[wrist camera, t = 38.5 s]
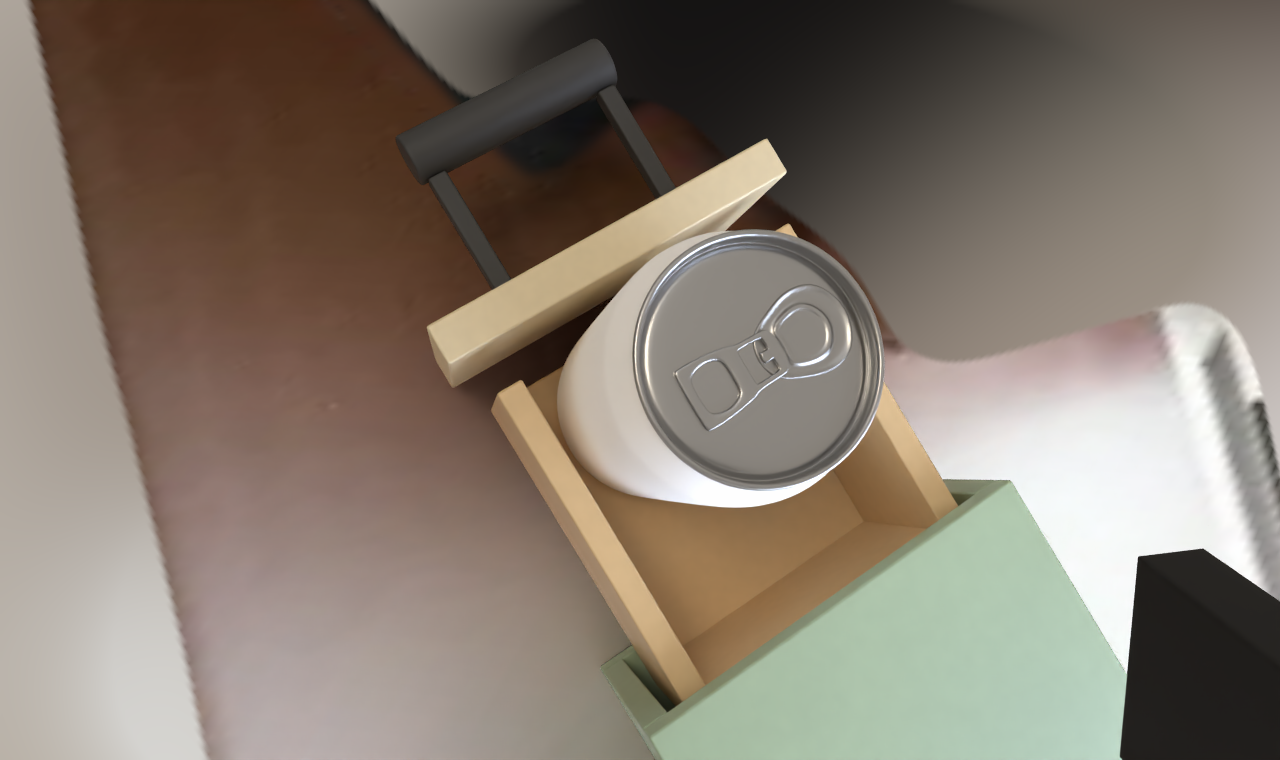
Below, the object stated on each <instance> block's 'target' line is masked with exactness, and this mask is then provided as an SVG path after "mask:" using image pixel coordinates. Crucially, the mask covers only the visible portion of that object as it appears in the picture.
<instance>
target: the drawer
mask: <svg viewBox="0 0 1280 760" xmlns="http://www.w3.org/2000/svg"><path fill="white" fill-rule="evenodd" d="M616 84H617V73H616V69H615V66H614V63H613V61H612V58H611V56H610V54H609V53H608V51H607V50H606V48H605V47H604V45H603V44H602V43H601V42H600V41H599V40H597V39H591V40H589V41H587V42H585V43H583V44H581V45H579V46H577V47H575V48H573V49H571V50H569V51H567V52H565V53H563V54H561V55H559V56H557V57H555V58H553V59H551V60H549V61H547V62H545V63H543V64H540V65H538V66H536V67H534V68H532V69H530V70H528V71H526V72H525V73H522V74H521V75H518V76H516V77H514V78H512V79H510V80H508V81H506V82H504V83H502V84H500V85H498V86H496V87H494V88H492V89H490V90H488V91H486V92H484V93H482V94H480V95H478V96H476V97H474V98H472V99H470V100H468V101H466V102H464V103H462V104H460V105H458V106H456V107H454V108H452V109H450V110H448V111H446V112H444V113H442V114H440V115H438V116H436V117H434V118H432V119H430V120H428V121H426V122H424V123H422V124H420V125H417V126H415V127H413V128H411V129H409V130H407V131H405V132H403V133H401V134H399V135H397V136H396V143H397V146H398V148H399V150H400V153H401V155H402V157H403V159H404V160H405V162H406V164H407V166H408V168H409V169H410V171H411V173H412V174H413V176H414V177H415V179H416V180H417V181H418V182H419V183H420V184H421V185H425V184H427V183H429V186H430V188H431V189H432V191H433V193H434V194H435V196H436V198H437V199H438V201H439V203H440V204H441V206H442V208H443V209H444V211H445V213H446V214H447V216H448V218H449V219H450V221H451V222H452V224H453V226H454V227H455V229H456V231H457V232H458V234H459V236H460V237H461V239H462V241H463V242H464V244H465V246H466V247H467V249H468V251H469V252H470V254H471V256H472V257H473V259H474V261H475V262H476V264H477V266H478V267H479V269H480V271H481V272H482V274H483V276H484V277H485V279H486V281H487V282H488V284H489V286H490V287H491V289H492V290H491V291H489V292H488V293H486V294H484V295H482V296H480V297H479V298H477V299H475V300H473V301H471V302H470V303H468V304H466V305H464V306H462V307H461V308H459V309H457V310H455V311H453V312H452V313H450V314H448V315H446V316H444V317H442V318H441V319H439V320H437V321H435V322H433V323H432V324H430V325H428V326H427V330H428V334H429V338H430V341H431V345H432V349H433V352H434V356H435V360H436V362H437V363H438V365H439V367H440V368H441V370H442V372H443V373H444V375H445V377H446V378H447V380H448V382H449V383H450V385H451V387H456V386H458V385H459V384H461V383H463V382H465V381H466V380H468V379H470V378H472V377H473V376H475V375H477V374H479V373H480V372H482V371H484V370H486V369H487V368H489V367H491V366H493V365H494V364H496V363H498V362H499V361H501V360H503V359H505V358H506V357H508V356H510V355H512V354H513V353H515V352H517V351H519V350H520V349H522V348H524V347H526V346H527V345H529V344H531V343H533V342H534V341H536V340H538V339H539V338H541V337H543V336H545V335H546V334H548V333H550V332H552V331H553V330H555V329H557V328H559V327H560V326H562V325H564V324H566V323H567V322H569V321H571V320H573V319H574V318H576V317H578V316H579V315H581V314H583V313H585V312H586V311H588V310H590V309H592V308H593V307H595V306H597V305H599V304H600V303H602V302H604V301H606V300H607V299H609V298H611V297H613V296H614V295H616V294H617V293H618V292H619V291H620V290H621V289H622V288H623V286H624V285H625V284H626V283H627V282H628V281H629V280H630V279H631V278H632V276H633V275H634V274H635V273H636V272H637V271H639V270H640V269H641V268H642V267H643V266H644V265H645V264H646V263H647V262H649V261H650V260H651V259H652V258H654V257H655V256H656V255H658V254H659V253H661V252H662V251H664V250H666V249H668V248H669V247H671V246H673V245H675V244H677V243H679V242H681V241H684V240H686V239H689V238H692V237H695V236H698V235H702V234H707V233H712V232H720V231H725V230H726V229H727V228H728V227H729V226H731V225H732V224H733V223H734V222H735V221H736V220H737V219H738V218H739V217H740V216H741V215H742V214H743V213H744V212H745V211H747V210H748V209H749V208H750V207H751V206H752V205H753V204H754V203H755V202H756V201H757V200H758V199H759V198H760V197H761V196H762V195H764V194H765V193H766V192H767V191H768V190H769V189H770V188H771V187H772V186H773V185H774V184H775V183H776V182H777V181H778V180H779V179H781V178H782V177H783V176H784V175H785V174H786V169H785V168H784V166H783V164H782V163H781V161H780V159H779V158H778V156H777V155H776V153H775V151H774V149H773V148H772V146H771V144H770V143H769V141H768V140H767V139H764V140H762V141H761V142H759V143H757V144H755V145H753V146H751V147H750V148H748V149H746V150H744V151H743V152H741V153H739V154H737V155H735V156H734V157H732V158H730V159H728V160H726V161H724V162H723V163H721V164H719V165H717V166H715V167H714V168H712V169H710V170H708V171H706V172H705V173H703V174H701V175H699V176H697V177H695V178H694V179H692V180H690V181H688V182H686V183H685V184H683V185H681V186H679V187H677V188H676V187H675V186H674V184H673V182H672V181H671V179H670V177H669V176H668V174H667V172H666V171H665V169H664V167H663V166H662V164H661V162H660V161H659V159H658V157H657V156H656V154H655V152H654V151H653V149H652V147H651V146H650V144H649V142H648V141H647V139H646V137H645V136H644V134H643V132H642V131H641V129H640V127H639V126H638V124H637V122H636V121H635V119H634V117H633V116H632V114H631V112H630V111H629V109H628V107H627V106H626V104H625V102H624V101H623V99H622V97H621V96H620V94H619V92H618V91H617V89H616V87H615V86H616ZM596 96H597V98H596V100H597V102H598V103H599V105H600V107H601V108H602V110H603V112H604V113H605V115H606V117H607V118H608V120H609V122H610V123H611V125H612V127H613V128H614V130H615V132H616V133H617V135H618V137H619V138H620V140H621V142H622V143H623V145H624V147H625V148H626V150H627V152H628V153H629V155H630V157H631V158H632V160H633V162H634V163H635V165H636V167H637V168H638V170H639V172H640V173H641V175H642V177H643V178H644V180H645V182H646V183H647V185H648V187H649V188H650V190H651V192H652V193H653V195H654V197H655V198H656V200H654V201H652V202H650V203H648V204H647V205H645V206H643V207H641V208H639V209H638V210H636V211H634V212H632V213H630V214H629V215H627V216H625V217H623V218H621V219H620V220H618V221H616V222H614V223H612V224H611V225H609V226H607V227H605V228H603V229H602V230H600V231H598V232H596V233H594V234H592V235H591V236H589V237H587V238H585V239H583V240H582V241H580V242H578V243H576V244H574V245H573V246H571V247H569V248H567V249H565V250H564V251H562V252H560V253H558V254H556V255H555V256H553V257H551V258H549V259H547V260H545V261H544V262H542V263H540V264H538V265H536V266H535V267H533V268H531V269H529V270H527V271H526V272H524V273H522V274H520V275H518V276H517V277H515V278H513V279H511V278H510V276H509V275H508V273H507V271H506V270H505V268H504V266H503V265H502V263H501V261H500V260H499V258H498V256H497V255H496V253H495V252H494V250H493V248H492V247H491V245H490V243H489V242H488V240H487V238H486V237H485V235H484V233H483V232H482V230H481V228H480V227H479V225H478V223H477V222H476V220H475V218H474V217H473V215H472V213H471V212H470V210H469V208H468V207H467V205H466V203H465V202H464V200H463V198H462V197H461V195H460V193H459V192H458V190H457V188H456V187H455V185H454V183H453V182H452V180H451V178H450V177H449V175H448V172H450V171H452V170H454V169H456V168H458V167H460V166H462V165H464V164H466V163H468V162H470V161H472V160H473V159H475V158H477V157H479V156H481V155H483V154H485V153H487V152H489V151H491V150H493V149H495V148H497V147H499V146H501V145H503V144H505V143H507V142H509V141H510V140H512V139H514V138H516V137H518V136H520V135H522V134H524V133H526V132H528V131H530V130H532V129H534V128H536V127H538V126H540V125H542V124H544V123H546V122H547V121H549V120H551V119H553V118H555V117H557V116H559V115H561V114H563V113H565V112H567V111H569V110H571V109H573V108H575V107H577V106H579V105H581V104H583V103H584V102H586V101H588V100H590V99H592V98H594V97H596ZM776 232H781V233H785V234H789V235H792V236H795V237H797V236H796V234H795V232H794V231H793V229H792V227H791V226H790V224H786V225H785V226H783V227H781V228H780V229H778V230H776ZM797 238H798V237H797ZM563 367H564V366H562V367H561V368H559V369H557V370H555V371H554V372H552V373H550V374H549V375H547V376H545V377H544V378H542V379H540V380H538V381H537V382H535V383H533V384H532V385H530V386H528V387H526V386H525V384H524V382H523V381H522V380H519V381H517V382H516V383H514V384H512V385H511V386H509V387H507V388H505V389H504V390H502V391H500V392H499V393H498V394H497V396H496V399H495V401H494V404H493V407H492V409H491V412H492V414H493V415H494V417H495V419H496V420H497V422H498V424H499V425H500V427H501V429H502V430H503V432H504V433H505V435H506V437H507V438H508V440H509V442H510V443H511V445H512V447H513V448H514V450H515V452H516V453H517V455H518V457H519V458H520V460H521V462H522V463H523V465H524V467H525V468H526V470H527V472H528V473H529V475H530V477H531V478H532V480H533V482H534V483H535V485H536V487H537V488H538V490H539V491H540V493H541V495H542V496H543V498H544V500H545V501H546V503H547V505H548V506H549V508H550V510H551V511H552V513H553V515H554V516H555V518H556V520H557V521H558V523H559V525H560V526H561V528H562V530H563V531H564V533H565V535H566V536H567V538H568V540H569V541H570V543H571V544H572V546H573V548H574V549H575V551H576V553H577V554H578V556H579V558H580V559H581V561H582V563H583V564H584V566H585V568H586V569H587V571H588V573H589V574H590V576H591V578H592V579H593V581H594V583H595V584H596V586H597V588H598V589H599V591H600V593H601V594H602V596H603V598H604V599H605V601H606V602H607V604H608V606H609V607H610V609H611V611H612V612H613V614H614V616H615V617H616V619H617V621H618V622H619V624H620V626H621V627H622V629H623V631H624V632H625V634H626V636H627V637H628V639H629V641H630V642H631V644H632V646H633V647H634V649H635V651H636V652H637V654H638V656H639V657H640V659H641V660H642V662H643V664H644V665H645V667H646V669H647V670H648V672H649V674H650V675H651V677H652V679H653V680H654V682H655V684H656V685H657V686H658V687H659V688H660V689H661V690H662V691H663V693H664V694H665V695H666V696H667V697H668V698H669V699H670V700H671V701H672V703H673V704H674V705H675V706H677V705H679V704H680V703H682V702H683V701H684V700H686V699H687V698H689V697H690V696H691V695H693V694H694V693H696V692H697V691H699V690H700V689H701V688H703V687H704V686H706V685H707V684H708V683H710V682H711V681H713V680H714V679H715V678H717V677H718V676H720V675H721V674H723V673H724V672H725V671H727V670H728V669H730V668H731V667H732V666H734V665H735V664H737V663H738V662H739V661H741V660H742V659H744V658H745V657H747V656H748V655H749V654H751V653H752V652H754V651H755V650H756V649H758V648H759V647H761V646H762V645H763V644H765V643H766V642H768V641H769V640H770V639H772V638H773V637H775V636H776V635H778V634H779V633H780V632H782V631H783V630H785V629H786V628H787V627H789V626H790V625H792V624H793V623H794V622H796V621H797V620H799V619H800V618H802V617H803V616H804V615H806V614H807V613H809V612H810V611H811V610H813V609H814V608H816V607H817V606H818V605H820V604H821V603H823V602H824V601H825V600H827V599H828V598H830V597H831V596H833V595H834V594H835V593H837V592H838V591H840V590H841V589H842V588H844V587H845V586H847V585H848V584H849V583H851V582H852V581H854V580H855V579H857V578H858V577H859V576H861V575H862V574H864V573H865V572H866V571H868V570H869V569H871V568H872V567H873V566H875V565H876V564H878V563H879V562H881V561H882V560H883V559H885V558H886V557H888V556H889V555H890V554H892V553H893V552H895V551H896V550H897V549H899V548H900V547H902V546H903V545H904V544H906V543H907V542H909V541H910V540H912V539H913V538H914V537H916V536H917V535H919V534H920V533H921V532H923V531H924V530H926V529H927V528H928V527H930V526H931V525H933V524H934V523H936V522H937V521H938V520H940V519H941V518H943V517H944V516H945V515H947V514H948V513H950V512H951V511H952V510H954V509H955V508H957V507H958V505H957V503H956V502H955V500H954V498H953V497H952V495H951V493H950V492H949V490H948V488H947V487H946V485H945V483H944V482H943V480H942V478H941V477H940V475H939V473H938V472H937V470H936V468H935V467H934V465H933V463H932V462H931V460H930V458H929V457H928V455H927V453H926V451H925V450H924V448H923V446H922V445H921V443H920V441H919V440H918V438H917V436H916V435H915V433H914V431H913V430H912V428H911V426H910V425H909V423H908V421H907V420H906V418H905V416H904V415H903V413H902V411H901V410H900V408H899V406H898V405H897V403H896V401H895V400H894V398H893V396H892V395H891V393H890V391H889V390H888V388H887V386H886V385H885V383H884V382H883V389H882V394H881V398H880V402H879V405H878V408H877V411H876V414H875V416H874V418H873V421H872V423H871V425H870V427H869V428H868V430H867V432H866V434H865V435H864V437H863V438H862V440H861V441H860V443H859V444H858V445H857V446H856V448H855V449H854V450H853V451H852V452H851V453H850V454H849V455H848V456H847V457H846V458H845V459H844V460H843V461H842V462H841V463H840V464H838V465H837V466H836V467H835V468H833V469H832V470H830V471H829V472H828V473H827V474H826V475H825V476H824V477H822V478H821V479H820V480H819V481H817V482H816V483H815V484H813V485H812V486H810V487H809V488H807V489H805V490H803V491H802V492H800V493H798V494H796V495H794V496H791V497H789V498H786V499H783V500H781V501H777V502H774V503H770V504H765V505H760V506H754V507H716V506H706V505H697V504H689V503H681V502H673V501H665V500H657V499H651V498H644V497H638V496H633V495H629V494H626V493H623V492H620V491H617V490H615V489H613V488H610V487H609V486H607V485H605V484H603V483H602V482H600V481H599V480H597V479H596V478H594V477H593V476H592V475H591V474H590V473H588V472H587V471H586V470H585V469H584V468H583V467H582V465H581V464H580V463H579V462H578V461H577V459H576V458H575V457H574V455H573V454H572V452H571V450H570V449H569V447H568V445H567V443H566V441H565V439H564V436H563V433H562V430H561V427H560V423H559V418H558V411H557V392H558V385H559V380H560V376H561V372H562V369H563Z"/></svg>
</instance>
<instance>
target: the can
mask: <svg viewBox="0 0 1280 760" xmlns="http://www.w3.org/2000/svg"><path fill="white" fill-rule="evenodd" d="M884 368H885V363H884V348H883V342H882V337H881V332H880V329H879V325H878V322H877V319H876V316H875V314H874V311H873V309H872V307H871V305H870V303H869V301H868V299H867V297H866V295H865V294H864V292H863V291H862V289H861V288H860V286H859V285H858V283H857V282H856V281H855V279H854V278H853V277H852V276H851V275H850V274H849V272H848V271H847V270H846V269H845V268H844V267H843V266H842V265H841V264H840V263H839V262H837V261H836V260H835V259H834V258H833V257H831V256H830V255H829V254H827V253H826V252H824V251H823V250H821V249H820V248H818V247H816V246H815V245H813V244H811V243H809V242H807V241H805V240H802V239H800V238H797V237H795V236H792V235H789V234H785V233H781V232H776V231H770V230H758V229H749V230H737V231H720V232H712V233H707V234H702V235H698V236H695V237H692V238H689V239H686V240H684V241H681V242H679V243H677V244H675V245H673V246H671V247H669V248H668V249H666V250H664V251H662V252H661V253H659V254H658V255H656V256H655V257H654V258H652V259H651V260H650V261H649V262H647V263H646V264H645V265H644V266H643V267H642V268H641V269H640V270H639V271H637V272H636V273H635V274H634V275H633V276H632V278H631V279H630V280H629V281H628V282H627V283H626V284H625V285H624V286H623V288H622V289H621V290H620V291H619V292H618V293H617V294H616V296H615V297H614V298H613V299H612V300H611V301H610V303H609V304H608V305H607V306H606V307H605V309H604V310H603V311H602V312H601V313H600V315H599V316H598V317H597V318H596V319H595V321H594V322H593V323H592V324H591V325H590V327H589V328H588V329H587V330H586V332H585V333H584V334H583V335H582V337H581V338H580V339H579V340H578V342H577V343H576V345H575V346H574V348H573V349H572V351H571V352H570V354H569V356H568V358H567V360H566V362H565V364H564V367H563V369H562V372H561V376H560V380H559V385H558V392H557V411H558V418H559V423H560V427H561V430H562V433H563V436H564V439H565V441H566V443H567V445H568V447H569V449H570V450H571V452H572V454H573V455H574V457H575V458H576V459H577V461H578V462H579V463H580V464H581V465H582V467H583V468H584V469H585V470H586V471H587V472H588V473H590V474H591V475H592V476H593V477H594V478H596V479H597V480H599V481H600V482H602V483H603V484H605V485H607V486H609V487H610V488H613V489H615V490H617V491H620V492H623V493H626V494H629V495H633V496H638V497H644V498H651V499H657V500H665V501H673V502H681V503H689V504H697V505H706V506H716V507H754V506H760V505H765V504H770V503H774V502H777V501H781V500H783V499H786V498H789V497H791V496H794V495H796V494H798V493H800V492H802V491H803V490H805V489H807V488H809V487H810V486H812V485H813V484H815V483H816V482H817V481H819V480H820V479H821V478H822V477H824V476H825V475H826V474H827V473H828V472H829V471H830V470H832V469H833V468H835V467H836V466H837V465H838V464H840V463H841V462H842V461H843V460H844V459H845V458H846V457H847V456H848V455H849V454H850V453H851V452H852V451H853V450H854V449H855V448H856V446H857V445H858V444H859V443H860V441H861V440H862V438H863V437H864V435H865V434H866V432H867V430H868V428H869V427H870V425H871V423H872V421H873V418H874V416H875V414H876V411H877V408H878V405H879V402H880V398H881V394H882V389H883V382H884Z"/></svg>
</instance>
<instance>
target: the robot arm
mask: <svg viewBox="0 0 1280 760" xmlns="http://www.w3.org/2000/svg"><path fill="white" fill-rule="evenodd" d="M1120 758H1121V759H1122V760H1280V601H1278V600H1277V599H1275V598H1274V597H1272V596H1271V595H1270V594H1268V593H1267V592H1265V591H1264V590H1262V589H1261V588H1259V587H1258V586H1257V585H1255V584H1254V583H1252V582H1251V581H1249V580H1248V579H1246V578H1245V577H1243V576H1242V575H1241V574H1239V573H1238V572H1236V571H1235V570H1233V569H1232V568H1230V567H1229V566H1228V565H1226V564H1225V563H1223V562H1222V561H1220V560H1219V559H1217V558H1216V557H1214V556H1213V555H1212V554H1210V553H1209V552H1207V551H1206V550H1204V549H1196V550H1188V551H1180V552H1172V553H1163V554H1155V555H1147V556H1139V557H1138V563H1137V574H1136V585H1135V595H1134V606H1133V617H1132V628H1131V638H1130V649H1129V660H1128V671H1127V681H1126V692H1125V703H1124V714H1123V724H1122V735H1121V746H1120Z"/></svg>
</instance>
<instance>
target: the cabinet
mask: <svg viewBox="0 0 1280 760" xmlns="http://www.w3.org/2000/svg"><path fill="white" fill-rule="evenodd" d="M942 480H943V482H944V483H945V485H946V487H947V488H948V490H949V492H950V493H951V495H952V497H953V498H954V500H955V502H956V503H957V505H958V507H957V508H955V509H954V510H952V511H951V512H950V513H948V514H947V515H945V516H944V517H943V518H941V519H940V520H938V521H937V522H936V523H934V524H933V525H931V526H930V527H928V528H927V529H926V530H924V531H923V532H921V533H920V534H919V535H917V536H916V537H914V538H913V539H912V540H910V541H909V542H907V543H906V544H904V545H903V546H902V547H900V548H899V549H897V550H896V551H895V552H893V553H892V554H890V555H889V556H888V557H886V558H885V559H883V560H882V561H881V562H879V563H878V564H876V565H875V566H873V567H872V568H871V569H869V570H868V571H866V572H865V573H864V574H862V575H861V576H859V577H858V578H857V579H855V580H854V581H852V582H851V583H849V584H848V585H847V586H845V587H844V588H842V589H841V590H840V591H838V592H837V593H835V594H834V595H833V596H831V597H830V598H828V599H827V600H825V601H824V602H823V603H821V604H820V605H818V606H817V607H816V608H814V609H813V610H811V611H810V612H809V613H807V614H806V615H804V616H803V617H802V618H800V619H799V620H797V621H796V622H794V623H793V624H792V625H790V626H789V627H787V628H786V629H785V630H783V631H782V632H780V633H779V634H778V635H776V636H775V637H773V638H772V639H770V640H769V641H768V642H766V643H765V644H763V645H762V646H761V647H759V648H758V649H756V650H755V651H754V652H752V653H751V654H749V655H748V656H747V657H745V658H744V659H742V660H741V661H739V662H738V663H737V664H735V665H734V666H732V667H731V668H730V669H728V670H727V671H725V672H724V673H723V674H721V675H720V676H718V677H717V678H715V679H714V680H713V681H711V682H710V683H708V684H707V685H706V686H704V687H703V688H701V689H700V690H699V691H697V692H696V693H694V694H693V695H691V696H690V697H689V698H687V699H686V700H684V701H683V702H682V703H680V704H679V705H677V706H675V705H674V704H673V703H672V701H671V700H670V699H669V698H668V697H667V696H666V695H665V694H664V693H663V691H662V690H661V689H660V688H659V687H658V686H657V685H656V684H655V682H654V680H653V679H652V677H651V675H650V674H649V672H648V670H647V669H646V667H645V665H644V664H643V662H642V660H641V659H640V657H639V656H638V654H637V652H636V651H635V649H634V647H633V646H632V645H631V646H630V647H628V648H627V649H625V650H624V651H622V652H621V653H619V654H618V655H616V656H615V657H614V658H612V659H611V660H609V661H608V662H606V663H605V664H603V665H602V666H601V667H600V668H601V670H602V672H603V674H604V675H605V677H606V679H607V680H608V682H609V684H610V685H611V687H612V688H613V690H614V692H615V693H616V695H617V697H618V698H619V700H620V702H621V703H622V705H623V707H624V708H625V710H626V712H627V713H628V715H629V717H630V718H631V720H632V722H633V723H634V725H635V727H636V728H637V730H638V732H639V733H640V735H641V736H642V738H643V740H644V741H645V743H646V745H647V746H648V748H649V750H650V751H651V753H652V755H653V756H654V758H655V760H1122V759H1121V758H1120V746H1121V735H1122V724H1123V714H1124V703H1125V692H1126V681H1127V674H1126V673H1125V671H1124V669H1123V668H1122V666H1121V664H1120V662H1119V661H1118V659H1117V657H1116V656H1115V654H1114V652H1113V651H1112V649H1111V647H1110V646H1109V644H1108V642H1107V641H1106V639H1105V637H1104V636H1103V634H1102V632H1101V631H1100V629H1099V627H1098V626H1097V624H1096V622H1095V621H1094V619H1093V617H1092V616H1091V614H1090V612H1089V611H1088V609H1087V607H1086V606H1085V604H1084V602H1083V601H1082V599H1081V597H1080V595H1079V594H1078V592H1077V590H1076V589H1075V587H1074V585H1073V584H1072V582H1071V580H1070V579H1069V577H1068V575H1067V574H1066V572H1065V570H1064V569H1063V567H1062V565H1061V564H1060V562H1059V560H1058V559H1057V557H1056V555H1055V554H1054V552H1053V550H1052V549H1051V547H1050V545H1049V544H1048V542H1047V540H1046V539H1045V537H1044V535H1043V534H1042V532H1041V530H1040V529H1039V527H1038V525H1037V523H1036V522H1035V520H1034V518H1033V517H1032V515H1031V513H1030V512H1029V510H1028V508H1027V507H1026V505H1025V503H1024V502H1023V500H1022V498H1021V497H1020V495H1019V493H1018V492H1017V490H1016V488H1015V487H1014V485H1013V483H1012V482H1011V481H1010V480H995V481H994V480H951V479H942Z"/></svg>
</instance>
